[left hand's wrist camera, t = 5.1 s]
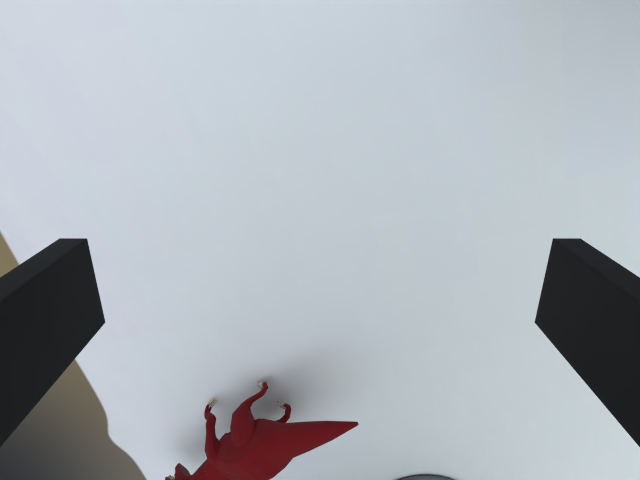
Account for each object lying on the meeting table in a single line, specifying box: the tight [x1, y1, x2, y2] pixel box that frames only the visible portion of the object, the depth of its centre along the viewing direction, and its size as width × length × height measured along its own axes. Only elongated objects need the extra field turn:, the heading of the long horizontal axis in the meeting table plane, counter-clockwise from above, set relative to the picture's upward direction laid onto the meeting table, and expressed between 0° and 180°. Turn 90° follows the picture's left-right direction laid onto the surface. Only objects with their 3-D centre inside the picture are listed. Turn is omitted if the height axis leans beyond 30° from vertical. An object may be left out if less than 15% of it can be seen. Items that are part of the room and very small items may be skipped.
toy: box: [165, 382, 358, 480], centre depth 42 cm, size 7×25×15 cm
